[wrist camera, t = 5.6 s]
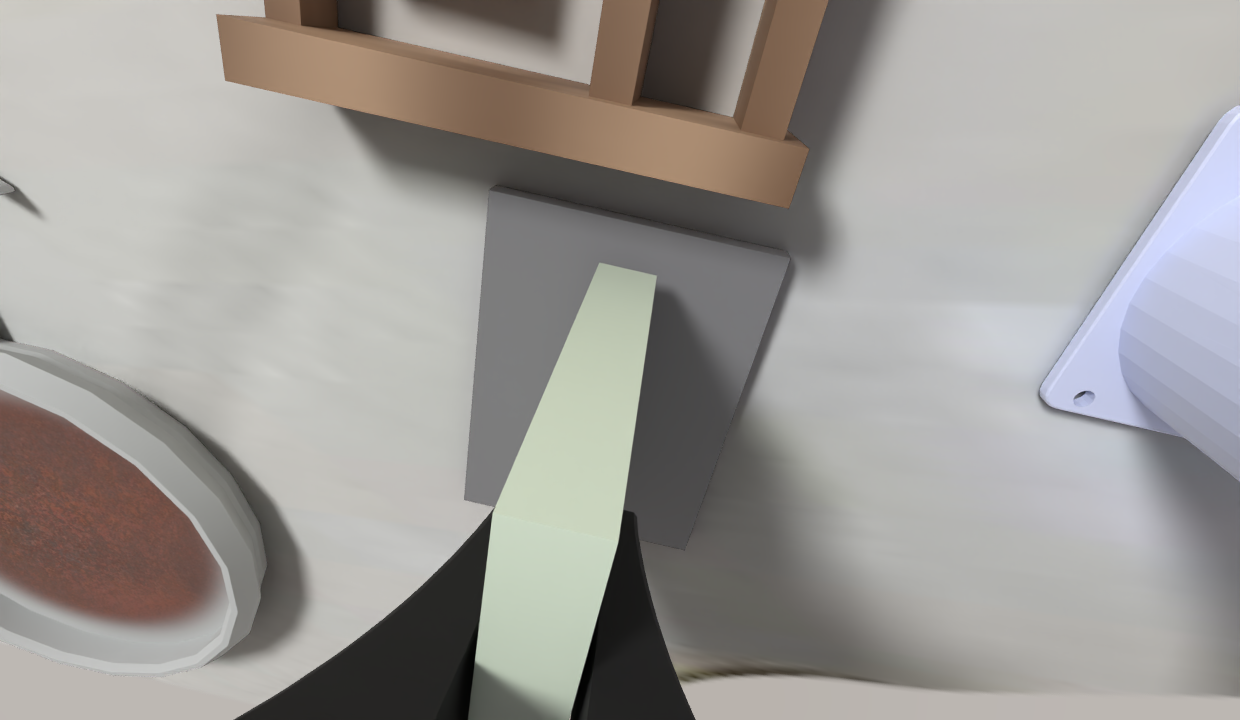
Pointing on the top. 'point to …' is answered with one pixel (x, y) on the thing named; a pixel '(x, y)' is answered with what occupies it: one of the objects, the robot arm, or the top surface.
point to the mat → (675, 355)
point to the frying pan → (115, 526)
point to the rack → (551, 93)
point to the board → (563, 510)
